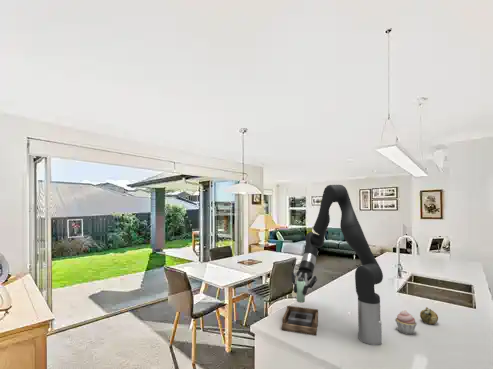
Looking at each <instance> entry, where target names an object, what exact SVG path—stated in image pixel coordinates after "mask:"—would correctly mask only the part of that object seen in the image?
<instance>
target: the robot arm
mask: <svg viewBox="0 0 493 369" xmlns="http://www.w3.org/2000/svg"><path fill="white" fill-rule="evenodd" d="M333 203H338V207H339V209H340V213H341V215H340V216H341V217H340V222H339V223H340V230H341V231H340V232H341V233H342V236H343V238H344V241H346V243H347V244H348V245H349V247H350V248H351V249H352V251H354V253H356V255H357V256H358V258H359V261H360V263H361V264H360V265H358V266H357V267H356V268H355V272H354V281H355V284H354V285H355V292H356V296H357V321H358V323H357V324H358V326H357V327H358V328H357V329H358V330H357V332H358V333H357V334H358V340H360V342H362V343H365V344H367V345H372V346H373V345H374V346H376V345H383V337H382V336H383V335H382V332H383V331H382V330H383V329H382V328H383V327H382V320H381V296H380V295H379V293H376V292H375V285H378V284H381V283H382V282H383V279H384V274H383V271H382V268H381V267H380V264H379V262H378V261H377V259H376V257H375V255H374V253H373V251H372V250H371V248H370V245H369V243H368V241H367V239H366V236H365V234H364V231H363V228H362V227H361V224H360V222H359V220H358V217H357V215H356V213H355V210H354V207H353V204H352V201H351V198H350V195H349V192H348V189H347V188H346V186H344V185H343V184H329V185H327V186H326V187H325V188H324V190H323V192H322V197H321V201H320V205H319V212H318V215H317V218H316V220H315V223H314V224H313V226H312V230H313V231H314V232H312V231H309V232H308V233H307V234H306V236H305V247H304V248H305V250H304V252H303V256H302V257H301V259H300V263H299V267H298V270H297V272H294V271H293V272H291V283H292V284H293V285H294V286H293V289H292V290H293V293H295V294H297V280H298V277H303V280H304V281H305V286H304V289H303V292H302V293H303V295H306V294H307V293H308V289H313V287H314V286H315V284H316V283H317V281H318V278H317V276H316V275H313V274H314V272H315V271H314V270H315V267H316V262H317V258H318V254H319V250H318V249H321V248H322V247H323V246H324V245H325V244H324V243H325V237H326V231H327V230H328V229H327V228H328V226H329V224H330V222H331V221H330V220H331V218H330V217H331V215H330V209H331V206H332V205H333Z"/></svg>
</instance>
